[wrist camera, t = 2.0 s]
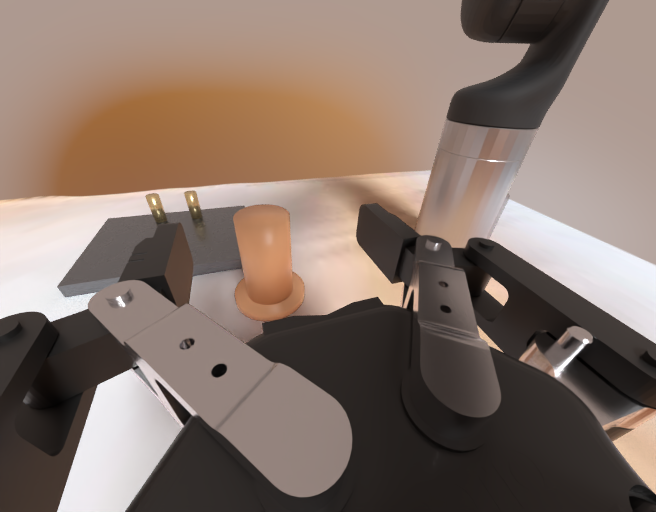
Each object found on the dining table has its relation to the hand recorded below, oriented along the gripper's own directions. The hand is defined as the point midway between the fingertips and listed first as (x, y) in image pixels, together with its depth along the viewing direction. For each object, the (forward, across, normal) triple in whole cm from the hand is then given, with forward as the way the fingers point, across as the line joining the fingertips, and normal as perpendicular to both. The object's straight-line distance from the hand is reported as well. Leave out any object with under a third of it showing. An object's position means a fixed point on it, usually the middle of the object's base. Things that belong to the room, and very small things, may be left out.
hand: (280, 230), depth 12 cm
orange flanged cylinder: (+11, 0, +14) cm, 18 cm away
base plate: (+25, +11, +14) cm, 31 cm away
